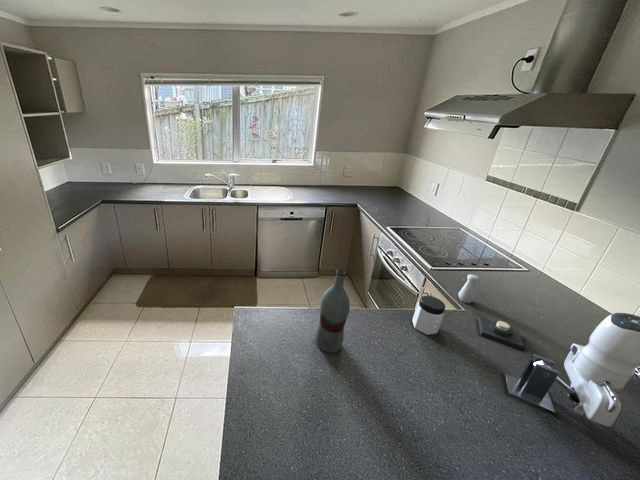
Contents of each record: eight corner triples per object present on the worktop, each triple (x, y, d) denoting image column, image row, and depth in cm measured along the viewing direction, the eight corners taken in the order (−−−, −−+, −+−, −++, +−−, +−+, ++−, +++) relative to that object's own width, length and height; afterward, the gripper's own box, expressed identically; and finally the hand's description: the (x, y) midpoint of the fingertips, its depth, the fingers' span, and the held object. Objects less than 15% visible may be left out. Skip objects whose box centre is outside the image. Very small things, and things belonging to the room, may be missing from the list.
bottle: (309, 344, 98) (320, 270, 87) (322, 330, 104) (334, 260, 93) (333, 359, 92) (348, 283, 81) (346, 344, 98) (361, 271, 87)
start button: (507, 327, 105) (509, 323, 104) (508, 332, 102) (510, 329, 101) (495, 323, 106) (496, 319, 106) (496, 328, 104) (498, 325, 103)
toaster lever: (574, 398, 78) (587, 394, 77) (578, 407, 76) (592, 404, 74) (531, 362, 81) (542, 357, 80) (533, 369, 79) (545, 365, 77)
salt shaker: (458, 302, 123) (468, 277, 118) (455, 295, 128) (464, 271, 123) (474, 306, 121) (484, 281, 116) (470, 298, 126) (480, 274, 121)
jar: (422, 336, 103) (431, 310, 99) (406, 321, 111) (414, 296, 106) (442, 333, 105) (452, 307, 101) (425, 318, 112) (434, 294, 108)
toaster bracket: (546, 393, 84) (565, 361, 79) (553, 415, 78) (575, 383, 73) (503, 376, 89) (519, 345, 84) (507, 395, 82) (525, 364, 78)
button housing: (516, 334, 106) (520, 325, 105) (521, 351, 99) (526, 342, 97) (477, 321, 112) (481, 313, 111) (479, 336, 104) (483, 328, 103)
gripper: (640, 409, 63) (607, 447, 68) (601, 349, 79) (577, 384, 84) (599, 393, 66) (571, 431, 71) (570, 339, 82) (549, 373, 87)
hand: (574, 405), depth 78 cm, fingers open, 3 cm apart
